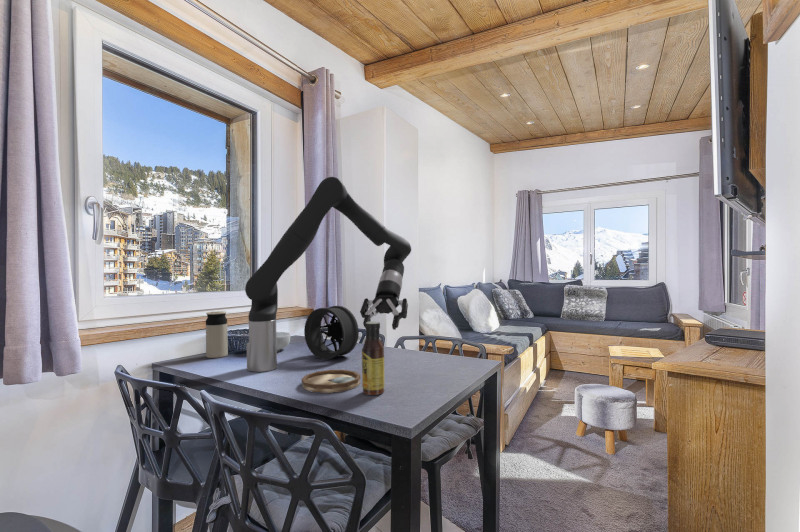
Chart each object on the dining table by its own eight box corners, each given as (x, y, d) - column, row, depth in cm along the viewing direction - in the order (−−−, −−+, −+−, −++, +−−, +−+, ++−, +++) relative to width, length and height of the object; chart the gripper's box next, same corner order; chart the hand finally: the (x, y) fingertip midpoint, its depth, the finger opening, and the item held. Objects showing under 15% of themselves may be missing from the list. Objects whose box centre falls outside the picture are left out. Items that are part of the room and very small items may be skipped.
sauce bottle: (362, 389, 115) (361, 320, 115) (384, 388, 116) (383, 320, 116) (362, 397, 109) (361, 323, 109) (385, 396, 109) (384, 323, 109)
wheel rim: (359, 357, 157) (358, 306, 157) (344, 362, 149) (343, 308, 149) (320, 352, 167) (319, 304, 167) (304, 357, 159) (303, 306, 159)
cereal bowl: (284, 354, 165) (284, 337, 165) (243, 355, 165) (243, 338, 165) (295, 346, 182) (294, 330, 182) (258, 347, 182) (257, 331, 182)
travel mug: (225, 357, 160) (224, 312, 161) (203, 359, 159) (203, 313, 159) (229, 353, 168) (229, 310, 168) (209, 354, 167) (208, 311, 167)
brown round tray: (294, 392, 114) (294, 385, 114) (312, 376, 131) (312, 369, 131) (353, 393, 112) (353, 385, 112) (364, 376, 129) (363, 369, 129)
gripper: (365, 279, 129) (353, 319, 118) (409, 278, 126) (400, 320, 114) (371, 294, 134) (360, 334, 123) (413, 294, 131) (405, 335, 120)
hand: (379, 327), depth 119 cm, fingers open, 8 cm apart
